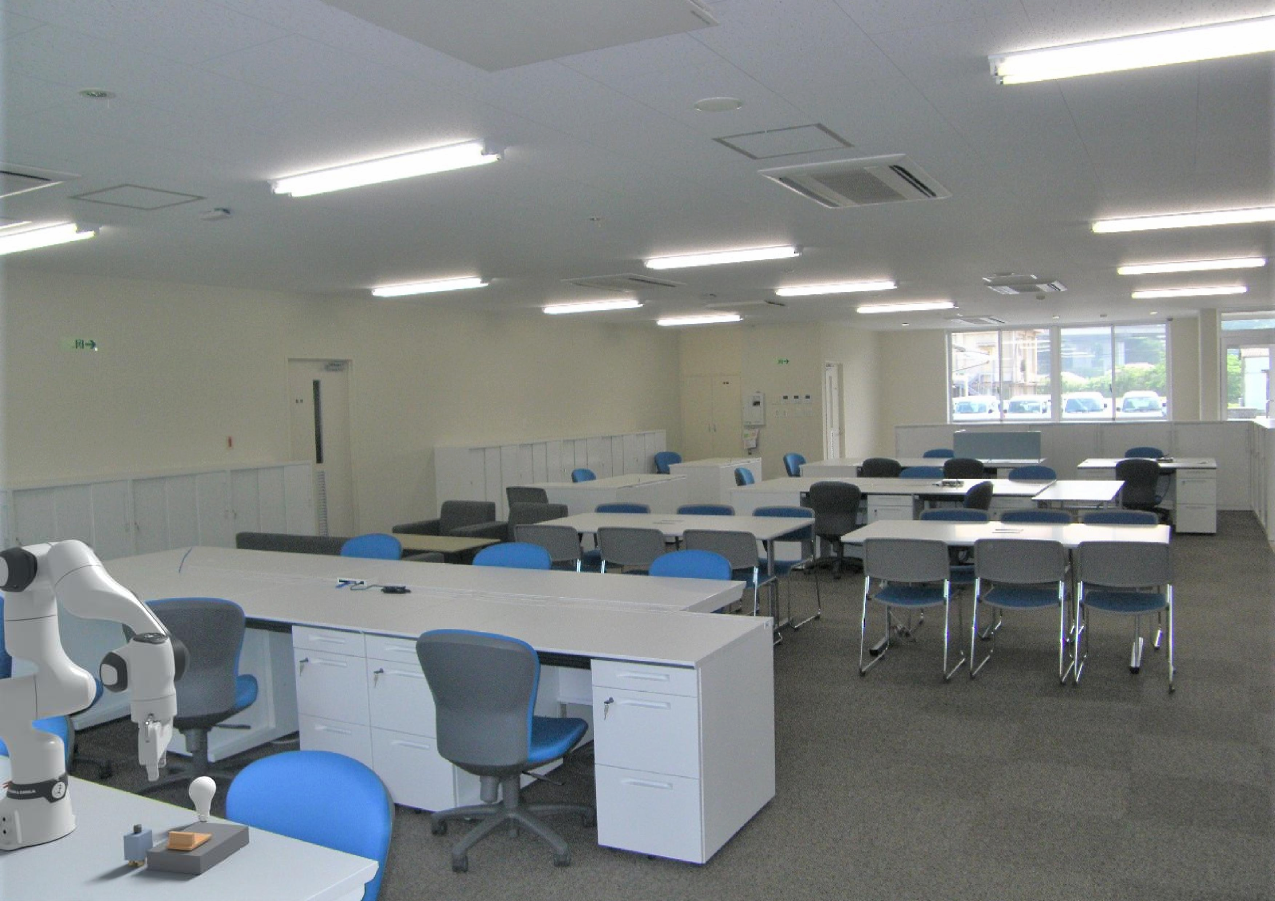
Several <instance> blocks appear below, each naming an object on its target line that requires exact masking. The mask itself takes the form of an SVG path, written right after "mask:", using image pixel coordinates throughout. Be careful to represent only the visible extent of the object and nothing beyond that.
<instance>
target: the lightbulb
mask: <svg viewBox="0 0 1275 901" xmlns="http://www.w3.org/2000/svg"><path fill="white" fill-rule="evenodd" d="M216 789H217V786H216V783H215V781H214V780H213V779H212V778H211V777H209V776H205V775H204V776H199V777H197V778H195V779H194V780H193V781H192V782H191V783H190V785H189V789H188V795H189V797H190V799H191V800H192V802H193V803H194V806H195V810H196V811H195V812H196V813H197V819H198V821H199V822H206V821H207V820H208V819H209V818H208V817H207V816H209V817H210V810H211V803H212V799H213V797H214V796H215V794H216ZM198 814H200V815H198ZM201 815H204V816H201ZM205 816H206V817H205Z"/></svg>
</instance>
